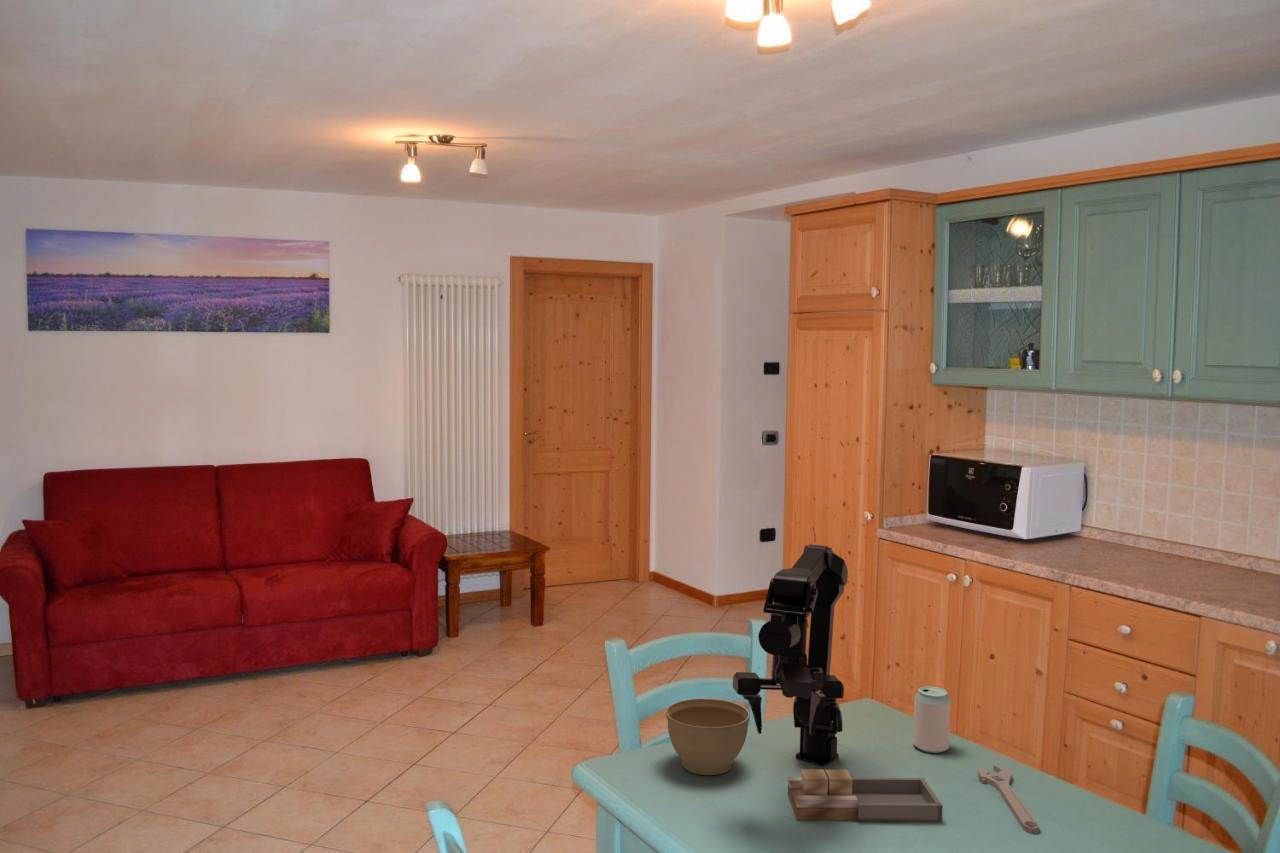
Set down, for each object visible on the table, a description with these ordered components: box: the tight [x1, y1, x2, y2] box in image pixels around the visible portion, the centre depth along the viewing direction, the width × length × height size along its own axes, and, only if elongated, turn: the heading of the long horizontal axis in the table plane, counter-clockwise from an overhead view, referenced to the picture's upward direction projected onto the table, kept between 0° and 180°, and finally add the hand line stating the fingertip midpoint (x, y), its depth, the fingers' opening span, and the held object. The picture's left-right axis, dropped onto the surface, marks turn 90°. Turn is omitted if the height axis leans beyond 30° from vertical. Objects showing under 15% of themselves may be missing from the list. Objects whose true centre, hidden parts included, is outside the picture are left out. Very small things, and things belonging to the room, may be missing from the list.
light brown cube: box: [824, 769, 853, 796], centre depth 177 cm, size 4×4×4 cm
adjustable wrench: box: [977, 764, 1040, 834], centre depth 181 cm, size 25×6×2 cm, turn 172°
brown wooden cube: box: [800, 768, 828, 796], centre depth 177 cm, size 4×4×4 cm
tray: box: [851, 777, 944, 823], centre depth 177 cm, size 14×11×3 cm
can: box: [912, 686, 952, 754], centre depth 204 cm, size 7×7×12 cm
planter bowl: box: [665, 698, 751, 776], centre depth 193 cm, size 16×16×11 cm
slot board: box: [787, 776, 858, 822], centre depth 177 cm, size 10×10×4 cm
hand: (785, 734), depth 175 cm, fingers open, 9 cm apart
